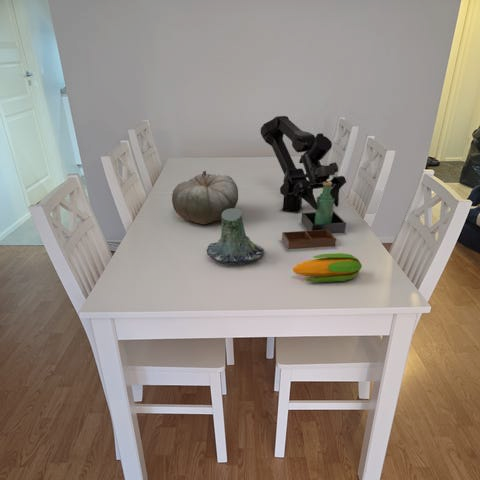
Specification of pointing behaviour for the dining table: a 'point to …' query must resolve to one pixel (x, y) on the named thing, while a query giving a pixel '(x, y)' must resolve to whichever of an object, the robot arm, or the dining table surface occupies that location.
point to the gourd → (205, 197)
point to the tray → (334, 227)
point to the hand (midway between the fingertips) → (327, 207)
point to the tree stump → (234, 241)
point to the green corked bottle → (324, 205)
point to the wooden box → (308, 239)
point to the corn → (329, 267)
